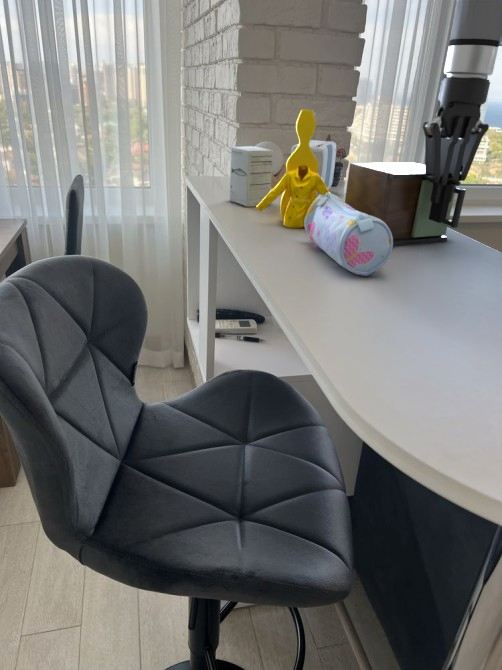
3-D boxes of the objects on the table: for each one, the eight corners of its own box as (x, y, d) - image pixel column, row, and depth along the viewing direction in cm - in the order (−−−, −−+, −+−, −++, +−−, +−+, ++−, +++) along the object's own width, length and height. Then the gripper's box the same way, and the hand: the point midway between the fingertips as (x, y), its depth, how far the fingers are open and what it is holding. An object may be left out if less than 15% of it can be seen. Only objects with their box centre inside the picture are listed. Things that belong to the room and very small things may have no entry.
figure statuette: (255, 226, 102) (261, 108, 93) (255, 217, 109) (261, 106, 100) (342, 231, 102) (357, 113, 93) (337, 222, 109) (351, 111, 100)
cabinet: (446, 241, 100) (462, 173, 94) (381, 246, 94) (393, 174, 88) (402, 224, 111) (413, 162, 105) (341, 228, 105) (349, 163, 99)
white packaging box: (228, 201, 123) (230, 146, 118) (252, 198, 127) (255, 145, 122) (246, 207, 118) (248, 150, 113) (270, 204, 122) (274, 149, 117)
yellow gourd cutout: (318, 204, 125) (327, 117, 116) (286, 200, 127) (293, 114, 118) (332, 191, 143) (341, 114, 134) (304, 188, 145) (311, 112, 136)
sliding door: (457, 239, 97) (470, 182, 92) (425, 242, 94) (437, 183, 89) (442, 233, 100) (455, 178, 95) (411, 236, 97) (422, 179, 92)
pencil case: (300, 241, 94) (305, 189, 90) (344, 241, 96) (351, 190, 92) (337, 280, 76) (346, 217, 72) (391, 279, 78) (402, 217, 73)
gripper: (478, 78, 88) (448, 214, 99) (419, 74, 83) (395, 218, 93) (513, 79, 82) (478, 223, 92) (453, 75, 77) (423, 228, 87)
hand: (436, 220), depth 93 cm, fingers closed
